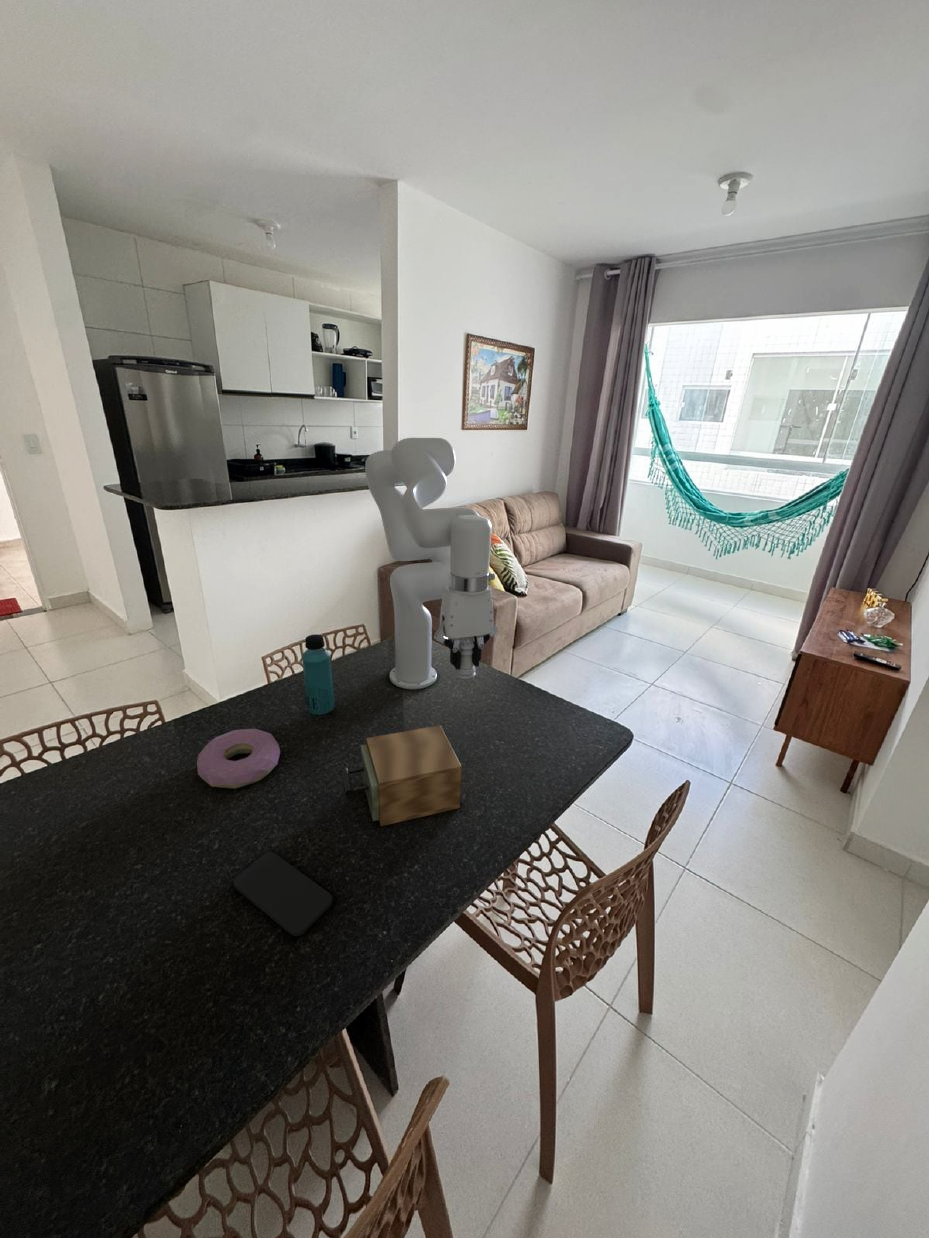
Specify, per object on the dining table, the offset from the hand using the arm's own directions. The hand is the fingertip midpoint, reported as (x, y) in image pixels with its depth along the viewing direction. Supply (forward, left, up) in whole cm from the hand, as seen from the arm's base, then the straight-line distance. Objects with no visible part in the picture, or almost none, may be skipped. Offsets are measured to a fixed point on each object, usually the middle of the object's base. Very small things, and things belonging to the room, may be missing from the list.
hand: (465, 664), depth 106 cm
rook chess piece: (0, 0, -3) cm, 3 cm away
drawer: (+12, -18, -18) cm, 29 cm away
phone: (+27, -38, -19) cm, 51 cm away
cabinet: (+12, -14, -19) cm, 27 cm away
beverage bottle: (-20, -28, -20) cm, 40 cm away
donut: (-5, -45, -20) cm, 50 cm away
